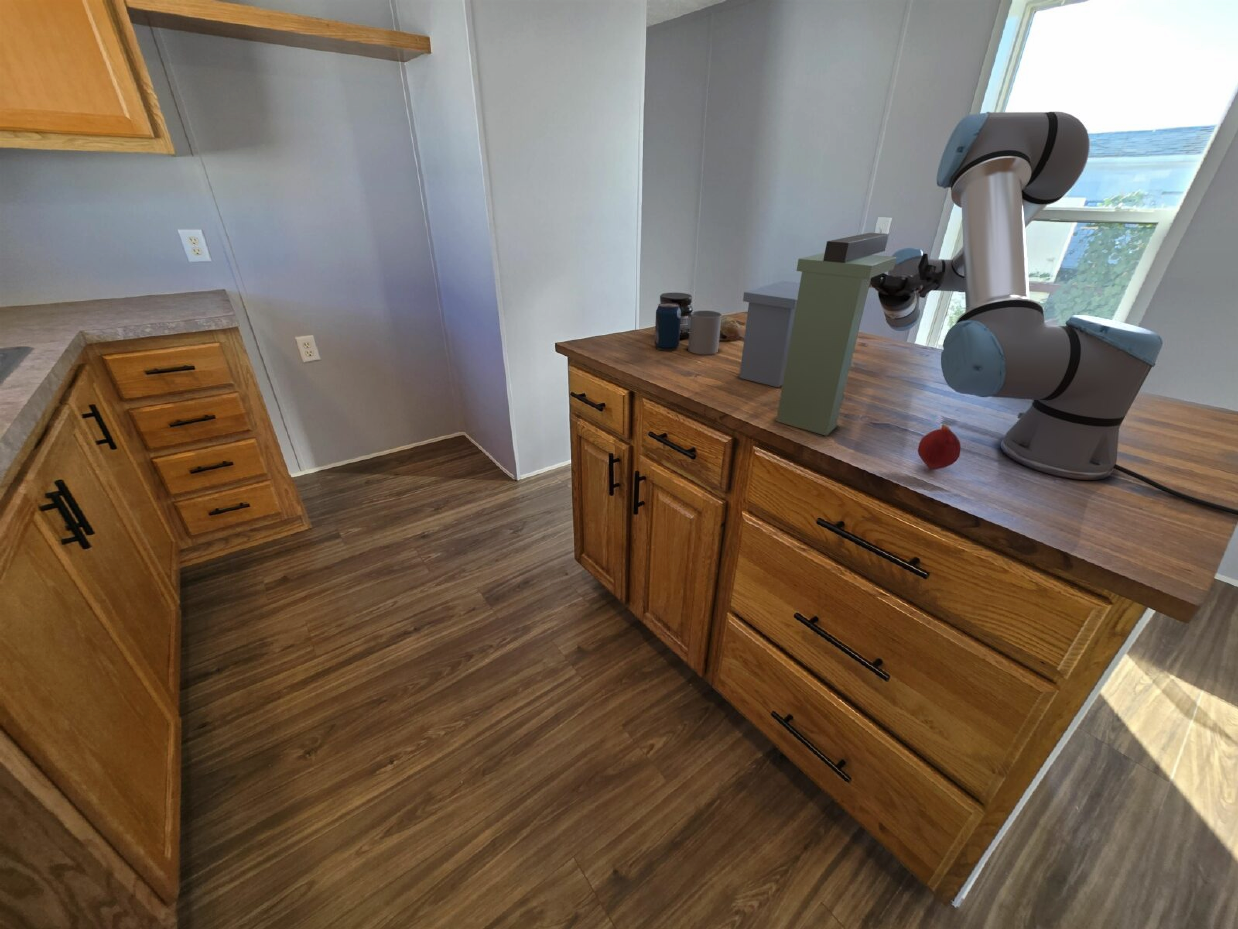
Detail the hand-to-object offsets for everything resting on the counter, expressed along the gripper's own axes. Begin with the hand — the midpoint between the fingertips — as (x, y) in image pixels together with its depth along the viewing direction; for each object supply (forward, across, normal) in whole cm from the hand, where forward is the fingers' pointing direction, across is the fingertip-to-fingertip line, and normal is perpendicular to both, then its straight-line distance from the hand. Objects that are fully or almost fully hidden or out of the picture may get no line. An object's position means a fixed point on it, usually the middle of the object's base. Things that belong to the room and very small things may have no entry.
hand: (886, 256), depth 104 cm
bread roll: (-29, +45, -16) cm, 56 cm away
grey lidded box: (-10, +18, -26) cm, 34 cm away
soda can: (-10, +51, -27) cm, 58 cm away
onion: (+14, -23, -40) cm, 49 cm away
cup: (-15, +42, -24) cm, 51 cm away
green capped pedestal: (+7, 0, -36) cm, 37 cm away
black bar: (+18, 0, -8) cm, 20 cm away
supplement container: (-21, +57, -21) cm, 64 cm away
